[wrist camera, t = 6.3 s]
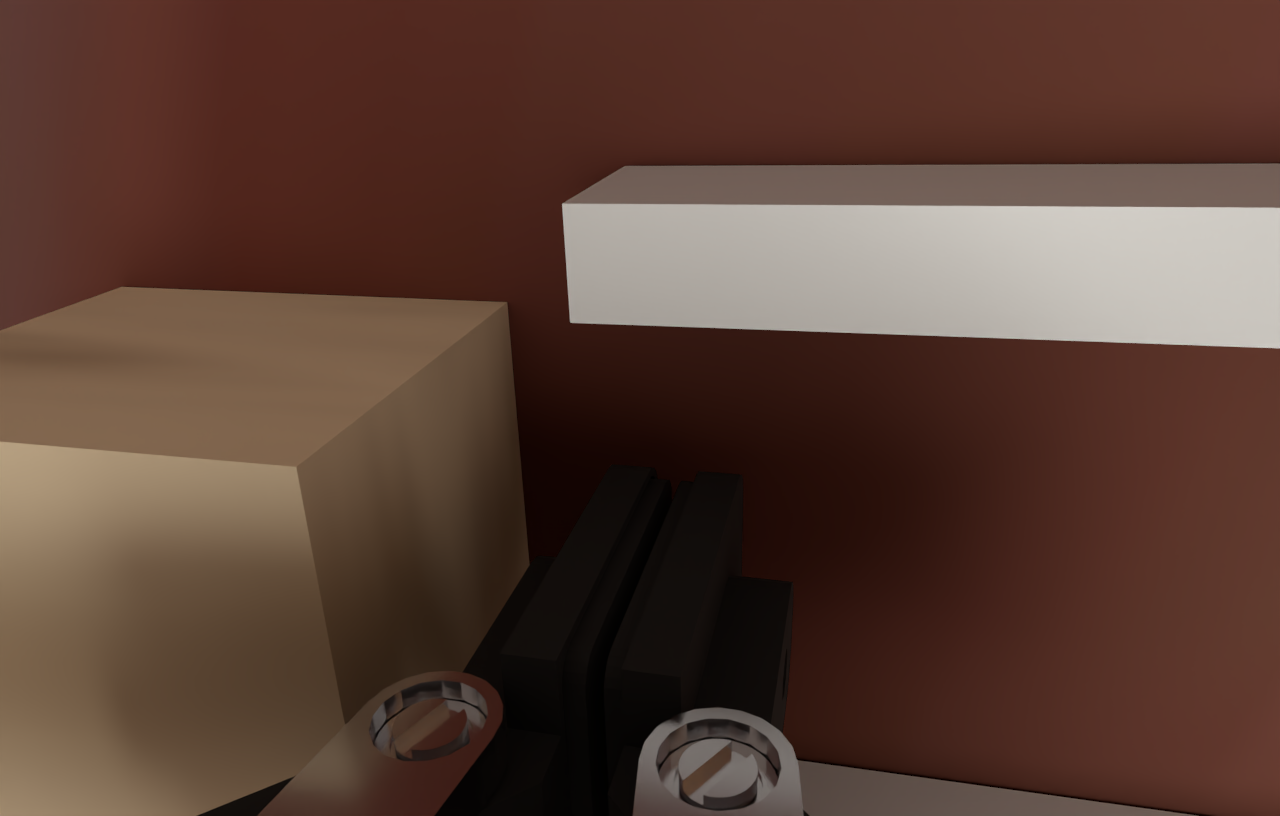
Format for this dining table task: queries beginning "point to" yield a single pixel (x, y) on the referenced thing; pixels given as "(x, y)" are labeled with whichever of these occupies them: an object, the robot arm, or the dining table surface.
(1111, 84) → the dining table surface
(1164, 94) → the dining table surface
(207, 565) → the maple block
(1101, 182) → the channel
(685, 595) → the robot arm
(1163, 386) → the dining table surface
